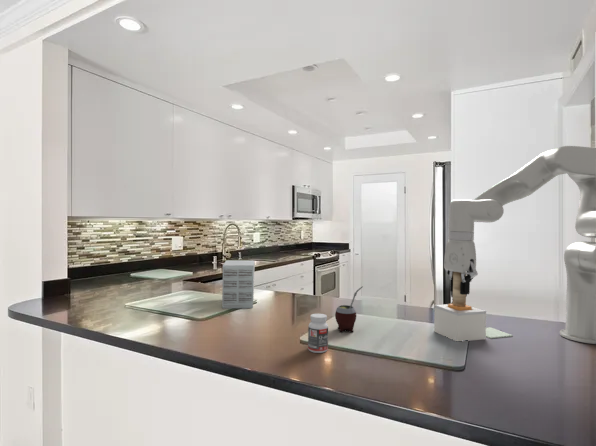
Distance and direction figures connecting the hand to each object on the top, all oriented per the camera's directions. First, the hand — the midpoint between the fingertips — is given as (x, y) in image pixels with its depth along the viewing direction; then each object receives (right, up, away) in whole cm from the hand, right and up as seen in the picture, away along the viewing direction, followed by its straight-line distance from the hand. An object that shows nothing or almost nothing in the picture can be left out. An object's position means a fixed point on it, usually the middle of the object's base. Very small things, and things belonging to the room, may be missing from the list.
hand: (459, 292), depth 120 cm
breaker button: (0, -7, 0) cm, 7 cm away
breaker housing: (0, -14, 0) cm, 14 cm away
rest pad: (+12, -14, +3) cm, 19 cm away
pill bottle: (-48, -14, -16) cm, 52 cm away
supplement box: (-79, -13, +39) cm, 89 cm away
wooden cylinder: (0, -4, 0) cm, 4 cm away
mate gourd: (-37, -14, +3) cm, 39 cm away
